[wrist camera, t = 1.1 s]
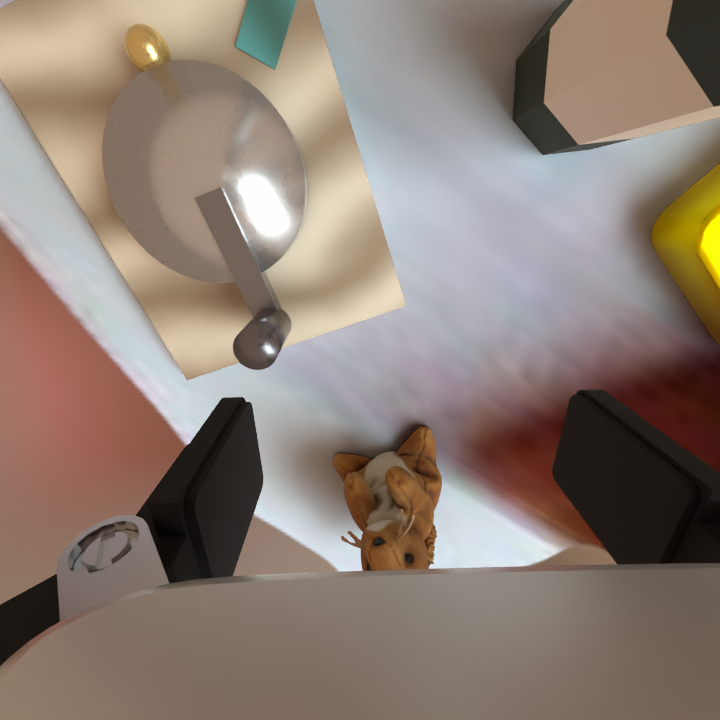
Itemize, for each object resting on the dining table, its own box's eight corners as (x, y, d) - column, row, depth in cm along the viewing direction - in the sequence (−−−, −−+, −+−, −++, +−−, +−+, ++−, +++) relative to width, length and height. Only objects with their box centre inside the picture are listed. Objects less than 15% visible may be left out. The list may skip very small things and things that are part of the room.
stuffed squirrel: (429, 416, 33) (473, 538, 21) (450, 522, 38) (495, 668, 26) (326, 438, 33) (310, 568, 21) (362, 539, 39) (365, 687, 27)
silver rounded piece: (60, 79, 21) (-65, 24, 14) (243, -9, 19) (191, -111, 13) (216, 356, 28) (177, 397, 22) (357, 306, 26) (358, 336, 20)
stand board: (-8, 37, 21) (-36, 23, 20) (278, -110, 19) (271, -138, 17) (194, 372, 30) (185, 381, 29) (403, 300, 28) (406, 306, 27)
